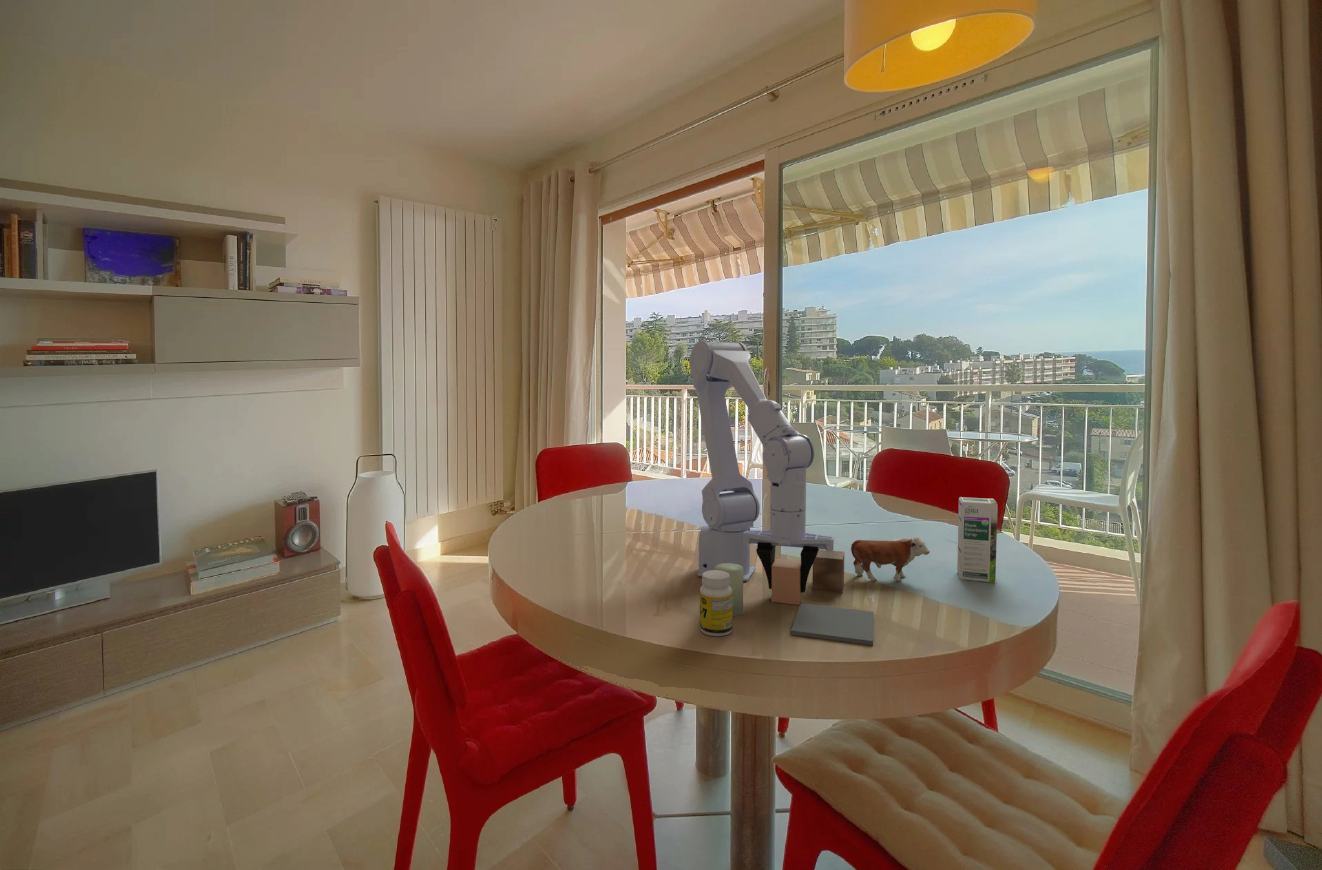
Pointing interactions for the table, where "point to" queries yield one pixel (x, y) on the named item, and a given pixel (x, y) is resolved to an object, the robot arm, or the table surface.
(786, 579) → the terracotta brick
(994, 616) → the table surface
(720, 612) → the supplement bottle
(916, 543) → the bull figurine
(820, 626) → the slate mat
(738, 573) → the sage cylinder
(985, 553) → the syrup box
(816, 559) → the walnut block
